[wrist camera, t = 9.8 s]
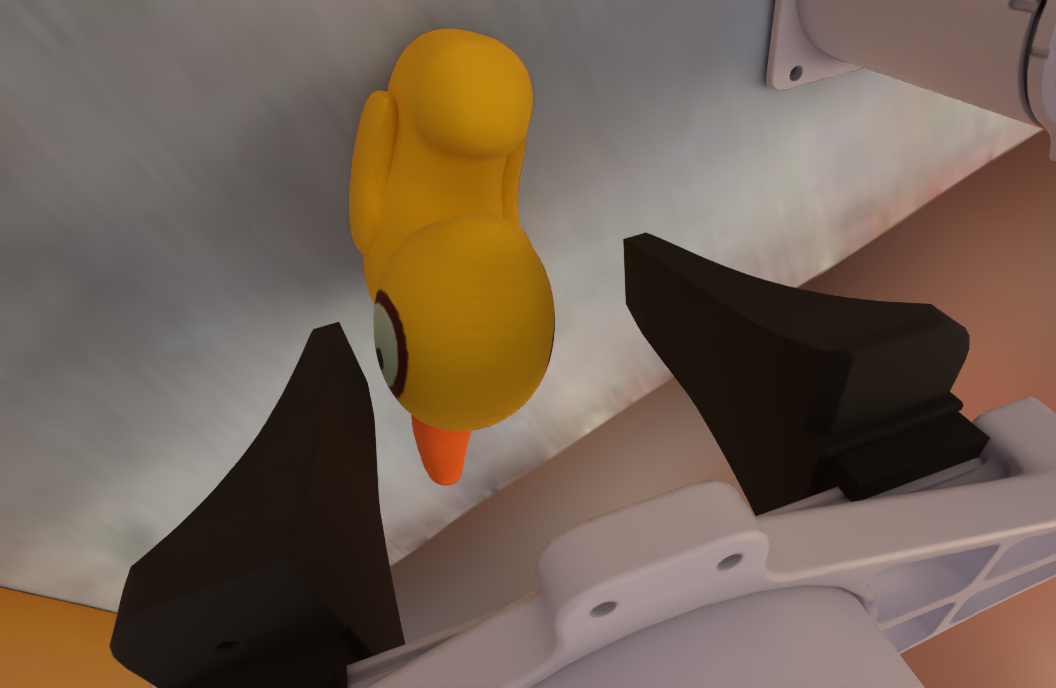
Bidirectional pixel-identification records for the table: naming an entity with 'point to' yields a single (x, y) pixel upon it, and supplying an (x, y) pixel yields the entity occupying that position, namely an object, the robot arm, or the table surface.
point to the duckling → (451, 241)
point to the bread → (58, 645)
